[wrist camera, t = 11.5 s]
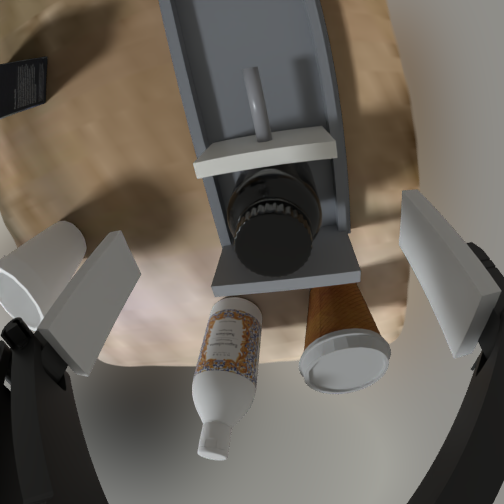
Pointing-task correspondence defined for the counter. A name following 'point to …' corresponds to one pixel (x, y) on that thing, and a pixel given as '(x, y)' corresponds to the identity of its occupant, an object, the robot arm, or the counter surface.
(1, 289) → the foam cup
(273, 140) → the pusher
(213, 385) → the bath foam
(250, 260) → the supplement bottle
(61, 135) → the counter surface
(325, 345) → the disposable coffee cup
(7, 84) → the small box
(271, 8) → the tray
